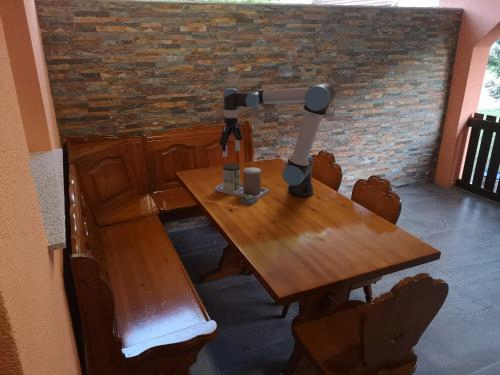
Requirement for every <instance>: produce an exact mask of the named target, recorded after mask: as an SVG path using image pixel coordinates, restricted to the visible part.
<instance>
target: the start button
mask: <svg viewBox="0 0 500 375" xmlns="http://www.w3.org/2000/svg"><path fill="white" fill-rule="evenodd" d="M252 199H253V196H252V195H245V200H249V201H251V200H252Z"/></svg>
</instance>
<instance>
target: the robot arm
mask: <svg viewBox="0 0 500 375" xmlns="http://www.w3.org/2000/svg"><path fill="white" fill-rule="evenodd" d="M335 94H336V93H335V90H334V88H333V87H332V85H330V84H329V83H326V82H325V83H324V82H321V83H318V84H313V85H312V84H310V85H308V86H307V87H296V88H295V87H293V88H281V89H280V88H279V89H265V90H264V89H263V90H260V89H256V90H253V91H250V92H249V91H248V92H239V90H238V89H237V88H234V87H228V88H225V89H223V116H224V117H223V118H224V120H223V122H224V124H225V127H222V130H221V131H222V133H221V136H220V141H219V145H220V146H222V148H221V149H222V150H221V151H222V157H223V158H225V157H226V158H227V157H228V145H227V143H228V141H229V139H230V136H232V134H233V136H234V138H235V147H234V149H235V152H241V141H242V139H243V135H242V132H241V129H240V123H239V122H238V120H239V119H238V114H239V112H238V109H239V108H238V107H240V108H250V109H252V108H255V109H257V107H258V106H259V105H265V104H267V105H268V104H270V105H272V104H289V103H290V104H293V103H294V104H295V103H296V104H297V103H304V105H303V111H304V116H303V119H302V122H301V126H300V128H299V133H298V135H297V138H296V142H295V145H294V149H293V153H292V154H291V155H289V156H288V158H287V162H286V166H285V167H284V168H283V169H282V173H281V176H282V179H283V181H284V182H285V183H286V184H288V187H287V191H288V193H289V194H290V195H291V196H294V197H297V198H306V197H307V198H308V197H311V196H313V194H314V192H315V191H314V190H315V189H314V186H313V183H312V175H313V163H314V159H313V156H312V155H310V154H311V151H312V148H313V145H314V142H315V138H316V135H317V132H318V129H319V126H320V124H321V121H322V120H321V119H322V118H323V117H324V116H326V115H327V111H328V110H329V109H328V108H329V105H330V104H331V103H332V102H333V100H334V99H335Z"/></svg>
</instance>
